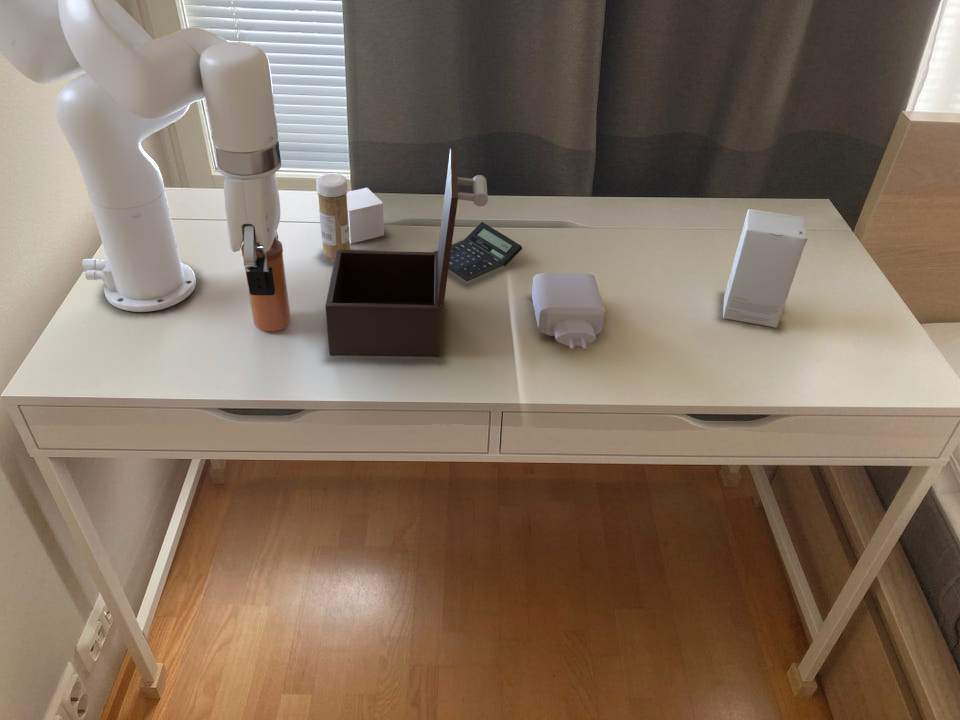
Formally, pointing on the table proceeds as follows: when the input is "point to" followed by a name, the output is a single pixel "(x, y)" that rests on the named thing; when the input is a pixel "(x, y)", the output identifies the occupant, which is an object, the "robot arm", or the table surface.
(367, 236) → the white cube
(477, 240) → the calculator
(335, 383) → the table surface
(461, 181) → the lid
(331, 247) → the sprinkles bottle
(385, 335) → the dark wooden planter box
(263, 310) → the tin
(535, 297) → the charger
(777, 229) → the cosmetic box
